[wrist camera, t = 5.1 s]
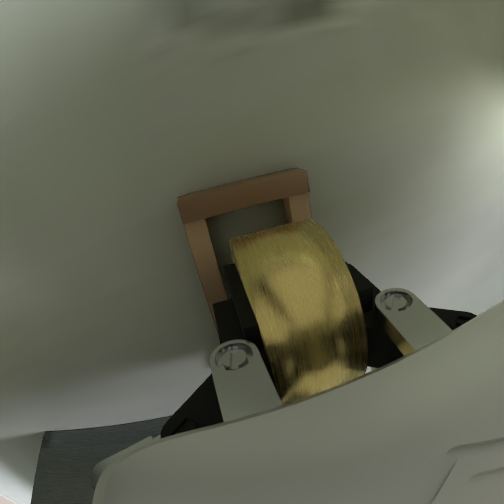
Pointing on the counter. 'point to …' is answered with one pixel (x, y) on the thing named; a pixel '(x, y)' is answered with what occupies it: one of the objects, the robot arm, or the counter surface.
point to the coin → (303, 307)
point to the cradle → (230, 199)
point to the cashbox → (82, 459)
